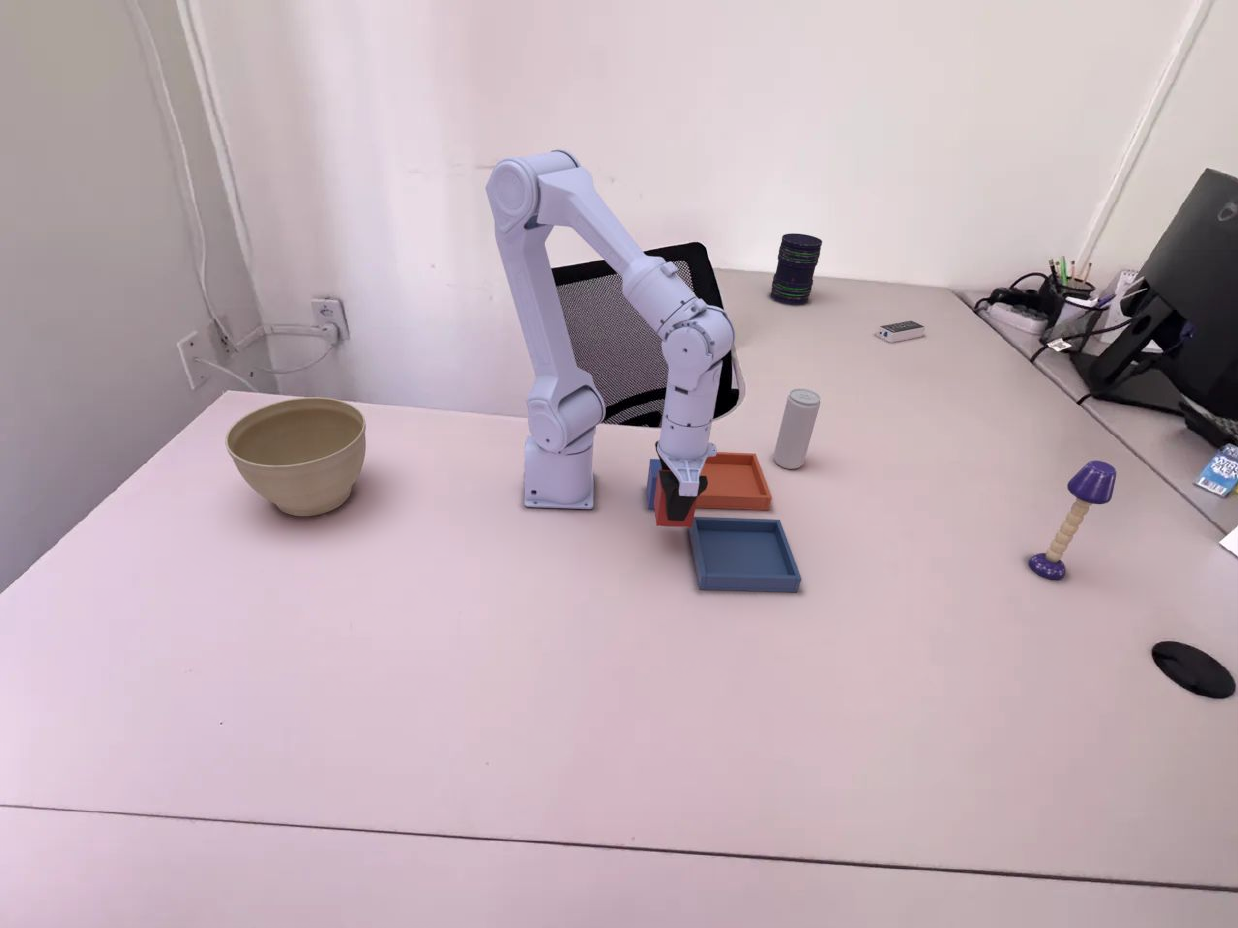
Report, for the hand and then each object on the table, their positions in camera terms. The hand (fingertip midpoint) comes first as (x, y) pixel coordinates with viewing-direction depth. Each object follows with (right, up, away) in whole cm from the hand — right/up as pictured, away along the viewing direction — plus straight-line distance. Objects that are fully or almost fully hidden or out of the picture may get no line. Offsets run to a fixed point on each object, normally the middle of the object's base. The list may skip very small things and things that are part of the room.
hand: (673, 506), depth 83 cm
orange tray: (+8, +2, +14) cm, 17 cm away
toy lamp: (+50, -9, +4) cm, 50 cm away
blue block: (-1, 0, +11) cm, 11 cm away
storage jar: (+37, +48, +84) cm, 103 cm away
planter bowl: (-48, +1, +6) cm, 49 cm away
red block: (0, -1, +1) cm, 1 cm away
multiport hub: (+58, +35, +68) cm, 96 cm away
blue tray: (+9, -7, +1) cm, 11 cm away
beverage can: (+20, +6, +21) cm, 30 cm away
